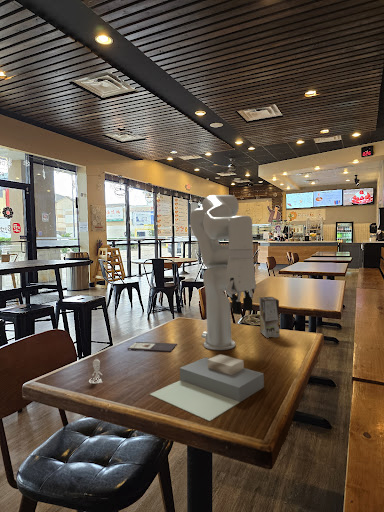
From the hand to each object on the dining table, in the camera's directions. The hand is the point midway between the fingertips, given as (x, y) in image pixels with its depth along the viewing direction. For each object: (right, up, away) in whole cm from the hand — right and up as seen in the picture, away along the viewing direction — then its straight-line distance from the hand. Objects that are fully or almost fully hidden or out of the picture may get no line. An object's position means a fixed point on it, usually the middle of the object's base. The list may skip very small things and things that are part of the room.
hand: (242, 311), depth 110 cm
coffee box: (+18, -17, +41) cm, 48 cm away
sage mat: (-16, -21, -16) cm, 31 cm away
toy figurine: (-46, -22, -3) cm, 51 cm away
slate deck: (-8, -20, -8) cm, 23 cm away
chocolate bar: (-32, -20, +29) cm, 48 cm away
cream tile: (-6, -16, -6) cm, 18 cm away
